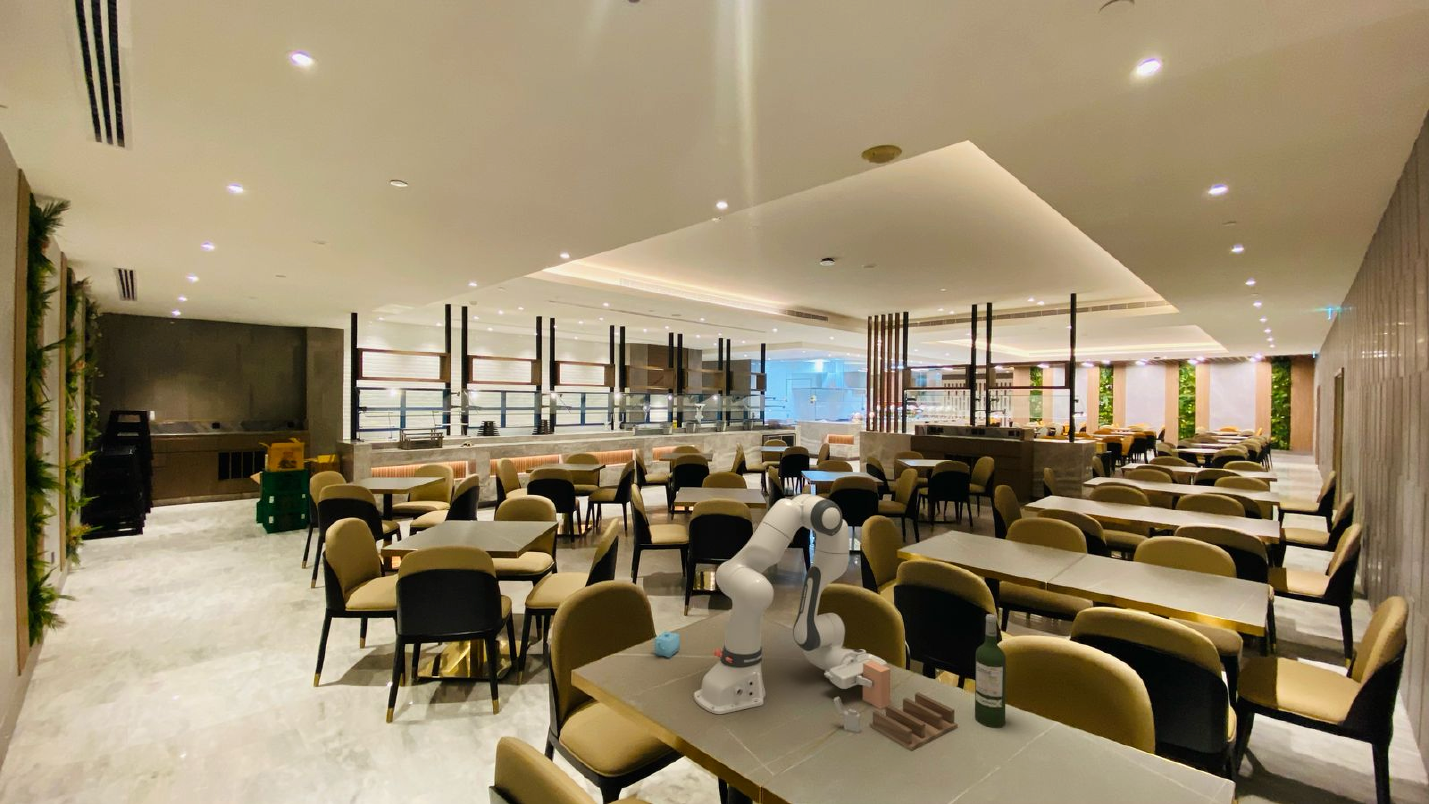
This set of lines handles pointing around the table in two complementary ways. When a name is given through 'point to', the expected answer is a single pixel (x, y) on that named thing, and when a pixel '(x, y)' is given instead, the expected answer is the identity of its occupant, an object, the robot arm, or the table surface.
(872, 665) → the salmon rectangular prism
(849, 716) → the lighter
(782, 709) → the table surface
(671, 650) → the light blue toy brick
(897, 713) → the rack
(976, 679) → the wine bottle
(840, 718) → the table surface
